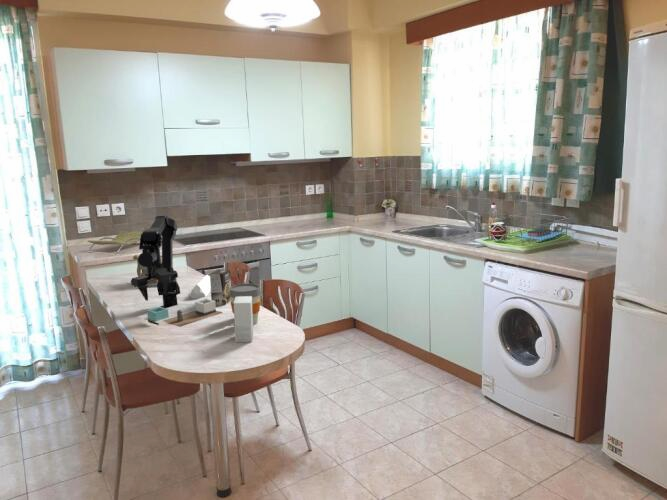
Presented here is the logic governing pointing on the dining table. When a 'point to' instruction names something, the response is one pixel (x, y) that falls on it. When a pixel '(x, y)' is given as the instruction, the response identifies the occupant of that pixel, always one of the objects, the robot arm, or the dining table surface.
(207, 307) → the grey sleeve
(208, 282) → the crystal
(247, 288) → the reusable coffee cup
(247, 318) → the skincare box
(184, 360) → the dining table surface
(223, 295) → the coffee box
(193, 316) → the pin board
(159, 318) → the teal sleeve
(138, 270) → the tankard
